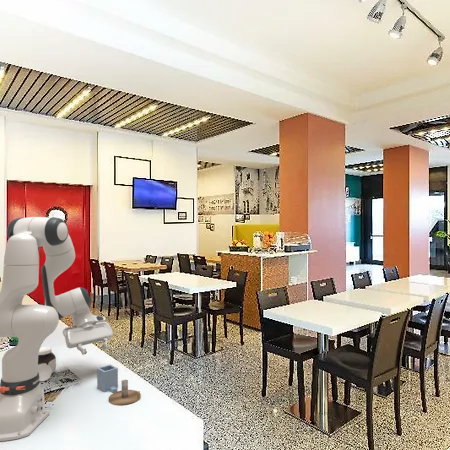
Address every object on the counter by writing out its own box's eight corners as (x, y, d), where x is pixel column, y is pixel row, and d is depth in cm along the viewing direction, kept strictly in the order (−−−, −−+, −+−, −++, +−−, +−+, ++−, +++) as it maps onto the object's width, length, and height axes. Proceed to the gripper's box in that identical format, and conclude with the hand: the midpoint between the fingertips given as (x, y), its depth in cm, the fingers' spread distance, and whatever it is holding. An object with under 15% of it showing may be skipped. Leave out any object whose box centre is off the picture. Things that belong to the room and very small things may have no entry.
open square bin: (97, 387, 157) (97, 368, 157) (110, 383, 161) (110, 364, 161) (108, 394, 151) (107, 374, 151) (121, 389, 155) (121, 370, 155)
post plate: (102, 398, 148) (102, 381, 148) (130, 388, 156) (130, 372, 156) (118, 408, 139) (118, 390, 139) (146, 397, 148) (146, 380, 148)
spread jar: (48, 370, 177) (48, 344, 177) (64, 374, 171) (63, 348, 171) (23, 379, 166) (23, 352, 166) (39, 384, 161) (38, 356, 160)
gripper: (63, 324, 162) (73, 353, 155) (108, 316, 177) (119, 341, 170) (59, 332, 165) (69, 361, 158) (103, 323, 180) (114, 349, 173)
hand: (95, 351), depth 164 cm, fingers open, 8 cm apart
